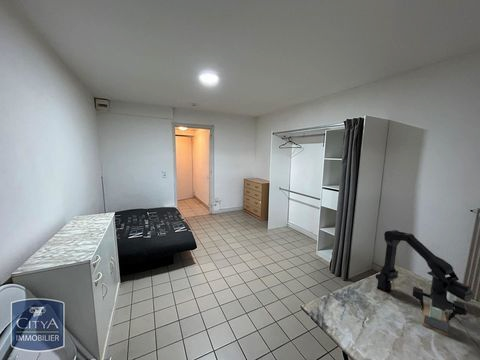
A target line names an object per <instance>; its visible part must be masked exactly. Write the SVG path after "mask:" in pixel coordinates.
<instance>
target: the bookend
mask: <svg viewBox="0 0 480 360" xmlns="http://www.w3.org/2000/svg"><path fill="white" fill-rule="evenodd" d="M424 323H425V324H427V325H430V326H432V327H434V328H437V329H439V330H441V331H444V332H446V333H447V329H448V328H449V324H448V322H447V323H444V322H442V321H439V320H437V319H434V318H432V317H429V316H427V315H425V316H424ZM448 330H449V329H448Z"/></svg>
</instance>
